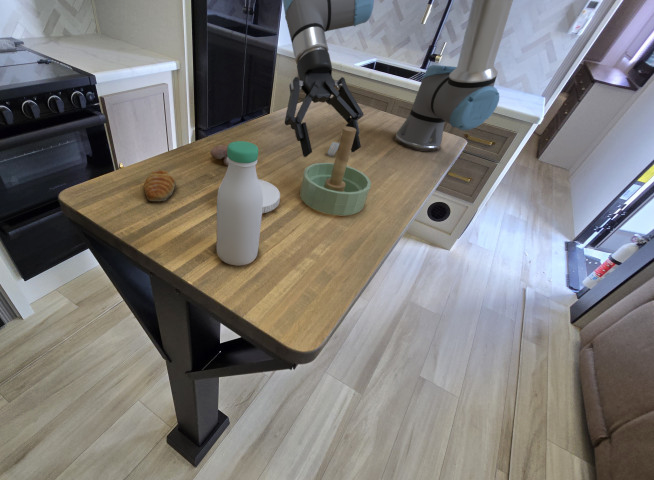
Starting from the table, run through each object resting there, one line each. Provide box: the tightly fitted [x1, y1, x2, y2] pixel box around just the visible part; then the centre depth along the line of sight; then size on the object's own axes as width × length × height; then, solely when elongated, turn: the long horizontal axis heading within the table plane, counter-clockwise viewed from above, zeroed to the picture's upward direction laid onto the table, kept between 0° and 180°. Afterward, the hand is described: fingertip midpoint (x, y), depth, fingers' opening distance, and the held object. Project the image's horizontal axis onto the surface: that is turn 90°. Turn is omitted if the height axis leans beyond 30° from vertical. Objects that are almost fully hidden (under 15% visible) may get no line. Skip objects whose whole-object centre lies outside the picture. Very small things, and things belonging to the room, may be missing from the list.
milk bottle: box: [216, 140, 263, 266], centre depth 55 cm, size 8×8×20 cm
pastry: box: [143, 169, 177, 202], centre depth 74 cm, size 9×7×4 cm
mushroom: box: [210, 144, 229, 166], centre depth 89 cm, size 8×6×8 cm
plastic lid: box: [217, 178, 281, 214], centre depth 76 cm, size 14×14×2 cm
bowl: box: [299, 162, 372, 217], centre depth 79 cm, size 16×16×6 cm
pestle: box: [324, 126, 356, 192], centre depth 75 cm, size 5×5×16 cm
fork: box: [326, 141, 340, 157], centre depth 108 cm, size 3×21×3 cm, turn 154°
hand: (332, 152), depth 76 cm, fingers open, 13 cm apart
